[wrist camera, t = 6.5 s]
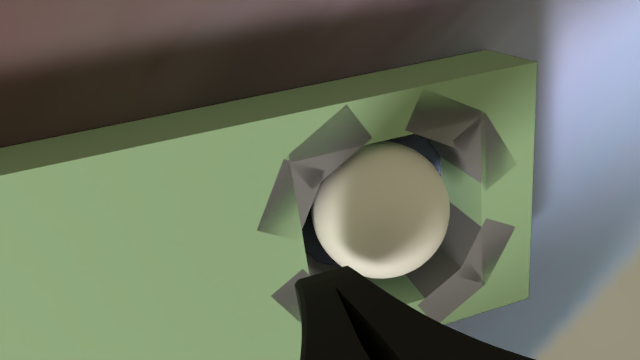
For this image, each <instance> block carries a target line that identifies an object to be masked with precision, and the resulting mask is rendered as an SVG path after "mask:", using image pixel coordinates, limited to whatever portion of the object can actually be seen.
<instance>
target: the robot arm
mask: <svg viewBox="0 0 640 360" xmlns="http://www.w3.org/2000/svg"><path fill="white" fill-rule="evenodd" d="M294 286H295V291H296V296H297V301H298V307H299V312H300V317H301V323H302V342H301V354H300V360H535V359H532V358H528V357H525V356H522V355H519V354H516V353H513V352H510V351H507V350H504V349H501V348H498V347H495V346H492V345H490V344H487V343H485V342H482V341H479V340H477V339H475V338H472V337H470V336H468V335H465V334H463V333H461V332H458V331H456V330H454V329H452V328H450V327H447V326H445V325H443V324H441V323H439V322H437V321H435V320H434V319H432V318H430V317H428V316H426V315H424V314H422V313H420V312H419V311H417V310H415V309H413V308H412V307H410V306H408V305H407V304H405V303H404V302H402V301H400V300H399V299H397V298H395V297H394V296H392V295H391V294H389V293H388V292H386V291H385V290H383V289H382V288H380V287H379V286H377V285H376V284H374V283H373V282H371V281H370V280H368V279H367V278H365V277H364V276H363V275H361V274H360V273H358V272H357V271H355V270H354V269H352V268H351V267H349V266H344V267H341V268H337V269H333V270H330V271H326V272H323V273H319V274H316V275H312V276H308V277H305V278H301V279H298V280H297V282H296V283H295V285H294Z"/></svg>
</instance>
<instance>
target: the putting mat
mask: <svg viewBox="0 0 640 360" xmlns="http://www.w3.org/2000/svg"><path fill="white" fill-rule="evenodd" d="M536 80H537V62H536V61H532V60H527V59H523V58H519V57H515V56H510V55H506V54H502V53H497V52H493V51H489V50H483V51H478V52H473V53H468V54H463V55H458V56H453V57H448V58H443V59H438V60H433V61H428V62H424V63H419V64H414V65H409V66H404V67H399V68H394V69H389V70H384V71H379V72H374V73H369V74H364V75H359V76H354V77H349V78H344V79H339V80H335V81H330V82H325V83H320V84H315V85H310V86H305V87H300V88H295V89H290V90H285V91H280V92H275V93H270V94H265V95H260V96H255V97H250V98H246V99H241V100H236V101H231V102H226V103H221V104H216V105H211V106H206V107H201V108H196V109H191V110H186V111H181V112H176V113H171V114H166V115H161V116H157V117H152V118H147V119H142V120H137V121H132V122H127V123H122V124H117V125H112V126H107V127H102V128H97V129H92V130H87V131H82V132H77V133H72V134H68V135H63V136H58V137H53V138H48V139H43V140H38V141H33V142H28V143H23V144H18V145H13V146H8V147H3V148H0V360H300V354H301V342H302V323H301V317H300V312H299V307H298V301H297V296H296V291H295V286H294V285H295V283H296V282H297V280H298V279H301V278H305V277H308V276H312V275H316V274H319V273H323V272H326V271H330V270H333V269H337V268H341V267H338V266H333V265H328V264H324V263H319V262H316V261H315V260H314V259H313V258H312V257H311V256H310V255H309V254H308V253H307V252H306V251H305V247H304V241H303V235H302V228H303V226H304V223H305V221H306V218H307V216H308V213H309V211H310V208H311V206H312V203H313V201H314V198H315V196H316V193H317V191H318V188H319V186H320V183H321V181H323V180H324V179H325V178H326V177H327V176H328V175H330V174H331V173H332V172H333V171H334V170H335V169H337V168H338V167H339V166H340V165H341V164H342V163H344V162H345V161H346V160H347V159H348V158H349V157H351V156H352V155H353V154H354V153H355V152H356V151H358V150H359V149H360V148H361V147H362V146H363V145H368V144H372V143H376V142H381V141H385V140H389V139H393V138H398V137H402V136H406V135H411V134H417V135H420V136H423V137H425V138H427V139H428V140H429V141H430V143H431V144H432V146H433V147H434V148H435V150H436V151H437V153H438V154H439V155H440V161H441V177H442V179H443V181H444V184H445V186H446V189H447V192H448V197H449V203H450V217H449V223H448V228H447V231H446V235H445V237H444V239H443V241H442V243H441V245H440V246H439V248H438V249H437V251H436V252H435V253H434V254H433V256H432V257H431V258H430V259H429V260H428V261H426V262H425V263H424V264H423V265H422V266H420V267H419V268H417V269H415V270H414V271H411V272H409V273H407V274H404V275H401V276H398V277H393V278H384V279H381V278H369V277H365V276H364V277H365V278H367V279H368V280H370V281H371V282H373V283H374V284H376V285H377V286H379V287H380V288H382V289H383V290H385V291H386V292H388V293H389V294H391V295H392V296H394V297H395V298H397V299H399V300H400V301H402V302H404V303H405V304H407V305H408V306H410V307H412V308H413V309H415V310H417V311H419V312H420V313H422V314H424V315H426V316H428V317H430V318H432V319H434V320H435V321H437V322H439V323H441V324H443V325H445V324H448V323H451V322H454V321H457V320H460V319H464V318H467V317H470V316H473V315H476V314H479V313H483V312H486V311H489V310H492V309H495V308H498V307H502V306H505V305H508V304H511V303H514V302H517V301H521V300H524V299H527V298H528V296H529V269H530V242H531V215H532V188H533V161H534V134H535V107H536Z"/></svg>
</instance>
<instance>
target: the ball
mask: <svg viewBox="0 0 640 360" xmlns="http://www.w3.org/2000/svg"><path fill="white" fill-rule="evenodd" d="M311 214H312V221H313V226H314V229H315V232H316V235H317V237H318V240H319V241H320V243H321V245H322V247H323V248H324V249H325V251H326V252H327V253H328V255H329V256H330V257H331V258H332V259H333V260H334V261H335V262H337V263H338V264H339V265H340V266H342V267H344V266H349V267H351V268H352V269H354V270H355V271H357V272H358V273H360V274H361V275H363V276H365V277H369V278H381V279H384V278H393V277H398V276H401V275H404V274H407V273H409V272H411V271H414V270H415V269H417V268H419V267H420V266H422V265H423V264H424V263H425V262H426V261H428V260H429V259H430V258H431V257H432V256H433V254H434V253H435V252H436V251H437V249H438V248H439V246H440V245H441V243H442V241H443V239H444V237H445V235H446V231H447V228H448V223H449V217H450V203H449V197H448V192H447V189H446V186H445V184H444V181H443V179H442V177H441V176H440V174H439V172H438V171H437V170H436V168H435V167H434V166H433V164H432V163H431V162H430V161H429V160H428V159H427V158H425V157H424V156H423V155H422V154H420V153H419V152H417V151H416V150H414V149H412V148H410V147H408V146H405V145H402V144H399V143H395V142H390V141H381V142H376V143H372V144H368V145H363V146H362V147H361V148H360V149H359V150H358V151H356V152H355V153H354V154H353V155H352V156H351V157H349V158H348V159H347V160H346V161H345V162H344V163H342V164H341V165H340V166H339V167H338V168H337V169H335V170H334V171H333V172H332V173H331V174H330V175H328V176H327V177H326V178H325V179H324V180H323V181H321V183H320V186H319V188H318V191H317V193H316V196H315V198H314V201H313V203H312V206H311Z"/></svg>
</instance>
